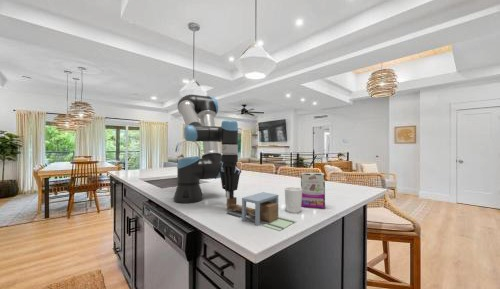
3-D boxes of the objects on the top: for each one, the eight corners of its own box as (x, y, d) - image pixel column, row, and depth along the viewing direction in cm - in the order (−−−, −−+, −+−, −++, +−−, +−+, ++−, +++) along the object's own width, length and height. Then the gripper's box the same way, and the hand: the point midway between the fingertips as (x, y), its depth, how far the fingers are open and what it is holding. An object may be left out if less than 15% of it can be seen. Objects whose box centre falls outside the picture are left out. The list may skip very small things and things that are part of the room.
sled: (226, 210, 97) (226, 197, 97) (235, 207, 102) (235, 194, 102) (269, 222, 82) (269, 206, 82) (277, 218, 86) (277, 203, 86)
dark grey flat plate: (226, 213, 94) (226, 213, 94) (241, 208, 102) (241, 208, 102) (239, 217, 89) (239, 217, 89) (255, 211, 97) (255, 211, 97)
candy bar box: (324, 206, 106) (324, 172, 106) (325, 209, 101) (325, 174, 101) (301, 204, 109) (301, 171, 109) (300, 207, 105) (300, 173, 105)
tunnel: (222, 214, 93) (223, 193, 93) (244, 207, 103) (244, 188, 103) (278, 231, 75) (278, 205, 75) (297, 221, 85) (297, 198, 85)
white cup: (282, 211, 97) (282, 189, 97) (287, 207, 104) (287, 186, 104) (299, 214, 93) (299, 191, 93) (304, 209, 100) (304, 188, 100)
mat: (262, 225, 80) (262, 224, 80) (280, 217, 89) (280, 216, 89) (279, 231, 75) (279, 230, 75) (296, 221, 84) (296, 221, 84)
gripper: (214, 153, 101) (214, 204, 101) (233, 154, 93) (233, 209, 93) (225, 153, 107) (225, 201, 107) (245, 154, 99) (245, 206, 98)
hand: (229, 205), depth 100 cm, fingers closed
